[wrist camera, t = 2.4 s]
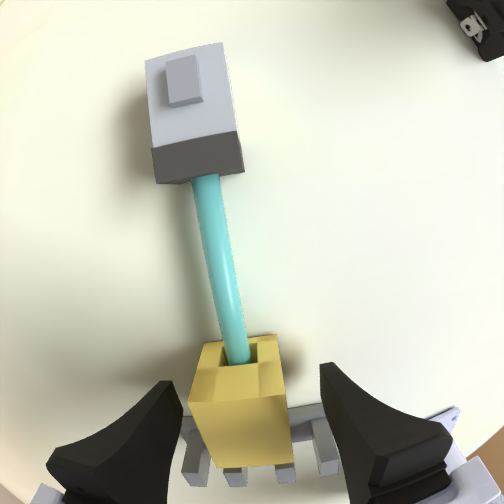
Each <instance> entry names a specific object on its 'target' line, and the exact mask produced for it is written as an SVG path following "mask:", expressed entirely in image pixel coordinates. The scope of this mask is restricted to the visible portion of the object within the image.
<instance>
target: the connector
mask: <svg viewBox="0 0 504 504" xmlns="http://www.w3.org/2000/svg"><path fill="white" fill-rule="evenodd" d="M145 70H146V84H147V96H148V107H149V117H150V126H151V134H152V143H153V148H155V147H159V146H163V145H167V144H172V143H176V142H180V141H185V140H189V139H194V138H199V137H204V136H209V135H214V134H219V133H225V132H231V131H237V134H238V137H239V132H238V126H237V120H236V114H235V108H234V102H233V95H232V89H231V83H230V77H229V71H228V66H227V61H226V57H225V52H224V47H223V43H222V42H220V43H215V44H209V45H204V46H199V47H195V48H190V49H186V50H182V51H178V52H174V53H170V54H166V55H163V56H159V57H156V58H153V59H149V60H146V61H145ZM239 141H240V139H239Z"/></svg>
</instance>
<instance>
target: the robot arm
mask: <svg viewBox="0 0 504 504" xmlns="http://www.w3.org/2000/svg"><path fill="white" fill-rule="evenodd" d="M319 365H320V394H321V400H322V404H323V408H324V412H325V415H326V418H327V421H328V423H329V426H330V429H331V431H332V434H333V436H334V439H335V442H336V444H337V447H338V450H339V453H340V457H341V461H342V465H343V470H344V474H345V479H346V484H347V489H348V494H349V499H350V504H504V495H500V494H501V491H500V489H499V487H498V486H497V484H496V483H495V481H494V479H493V478H492V476H491V475H490V473H489V472H488V470H487V468H486V467H485V465H484V464H483V462H482V461H481V460H480V458H479V456H475V457H474V458H473V459H471V460H469V461H467V460H466V459H465V457H464V455H463V454H462V452H461V451H460V449H459V448H458V446H457V445H456V443H455V442H454V440H453V438H452V436H451V435H450V434H451V432H452V429H453V427H454V425H455V423H456V421H457V418H458V416H459V414H460V409H459V407H455V408H453V409H451V410H449V411H447V412H445V413H443V414H441V415H438V416H436V417H434V418H432V419H429V420H426V419H422V418H418V417H415V416H412V415H409V414H406V413H403V412H401V411H399V410H396V409H394V408H392V407H390V406H388V405H386V404H384V403H382V402H380V401H379V400H377V399H376V398H374V397H373V396H371V395H370V394H368V393H367V392H366V391H364V390H363V389H362V388H360V387H359V386H358V385H357V384H356V383H354V382H353V381H352V380H351V379H350V378H349V377H348V376H347V375H345V374H344V373H343V372H342V371H341V370H340V369H339V368H338V367H337V365H336V364H335V363H333V362H329V363H324V364H319ZM182 419H183V407H182V405H181V403H180V400H179V398H178V395H177V393H176V390H175V388H174V385H173V383H172V381H160V382H158V383H157V384H156V385H155V386H154V387H153V388H152V389H151V390H150V391H149V392H148V393H147V394H146V395H145V396H144V397H143V398H142V399H141V400H140V401H139V402H138V403H137V404H136V405H135V406H133V407H132V408H131V409H130V410H129V411H128V412H126V413H125V414H124V415H123V416H122V417H120V418H119V419H118V420H116V421H115V422H113V423H112V424H110V425H109V426H107V427H106V428H104V429H102V430H100V431H99V432H97V433H95V434H93V435H91V436H89V437H87V438H85V439H82V440H80V441H77V442H74V443H71V444H68V445H65V446H61V447H57V448H55V450H54V452H53V453H52V455H51V457H50V458H49V460H48V462H47V463H46V467H47V470H48V471H49V473H50V474H51V475H52V476H53V477H54V478H55V479H56V480H57V481H58V482H59V483H60V484H61V485H62V486H63V487H64V488H65V489H66V492H65V494H63V493H61V492H60V491H58V490H56V489H54V488H52V487H50V486H47V485H45V484H43V483H41V485H40V487H39V488H38V490H37V492H36V494H35V496H34V498H33V499H32V501H31V503H30V504H167V493H168V482H169V474H170V467H171V463H172V459H173V455H174V452H175V448H176V445H177V441H178V437H179V434H180V430H181V426H182Z"/></svg>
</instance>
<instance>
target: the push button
mask: <svg viewBox="0 0 504 504" xmlns="http://www.w3.org/2000/svg"><path fill="white" fill-rule="evenodd" d="M447 5H448V6H449V8H450V9H451V10H452V11H453V13H454V14H455V15H456V16H457V18H458V19H459V20H460V26H461V28H462V29H463V30H464V32H465V33H466V35H467V36H469V37H472V39H473V40H474V42H475V43H476V45H477V46H478V48H479V49H478V52H479V54H480V55H481V57H482V59H483V60H484V61H486V62H489V61H491V60H494V59H496V58H499V57H501V56H504V0H447Z"/></svg>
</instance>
